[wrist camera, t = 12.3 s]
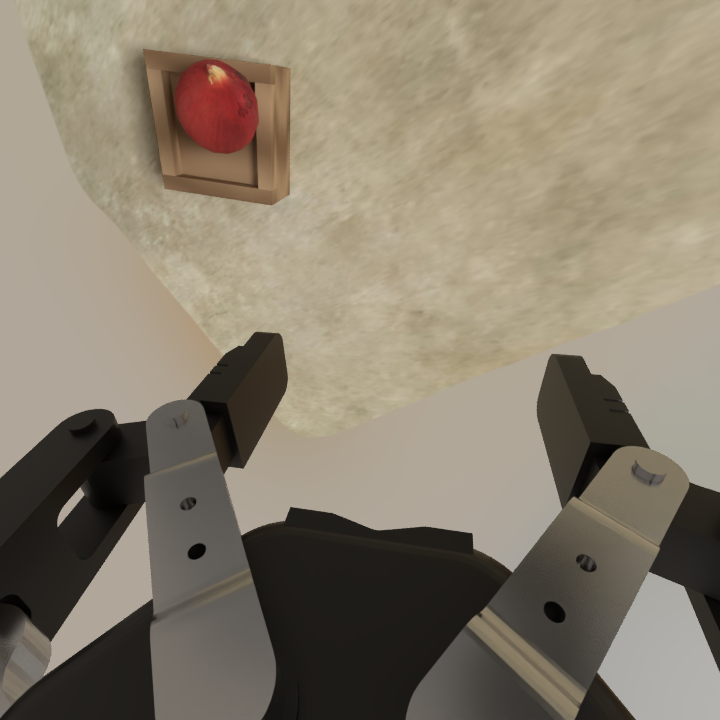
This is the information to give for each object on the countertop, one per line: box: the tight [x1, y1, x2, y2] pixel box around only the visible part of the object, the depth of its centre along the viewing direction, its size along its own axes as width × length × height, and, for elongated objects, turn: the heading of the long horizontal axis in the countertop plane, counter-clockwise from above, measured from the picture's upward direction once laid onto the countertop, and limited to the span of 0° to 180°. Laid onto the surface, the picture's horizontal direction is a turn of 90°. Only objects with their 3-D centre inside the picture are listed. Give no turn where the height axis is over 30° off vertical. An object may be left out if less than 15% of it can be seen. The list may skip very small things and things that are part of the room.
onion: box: [174, 59, 259, 154], centre depth 30 cm, size 6×6×8 cm
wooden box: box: [143, 49, 290, 205], centre depth 35 cm, size 10×10×5 cm
